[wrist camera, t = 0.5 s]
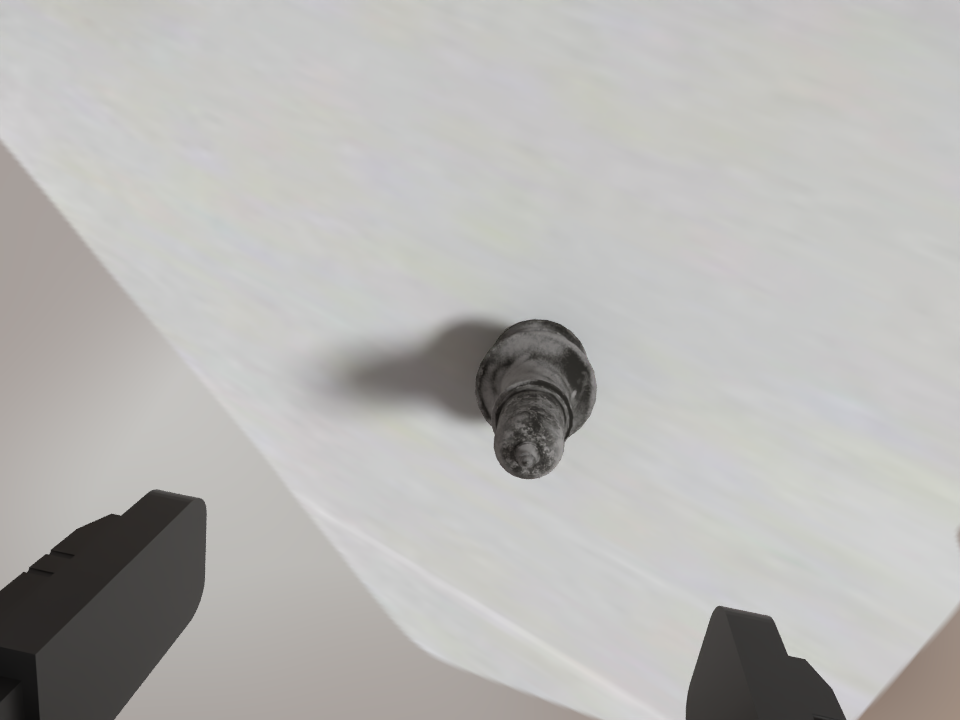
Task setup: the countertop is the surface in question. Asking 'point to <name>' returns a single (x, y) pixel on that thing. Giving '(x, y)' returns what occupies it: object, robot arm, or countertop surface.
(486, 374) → the salt shaker
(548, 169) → the countertop surface
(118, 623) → the robot arm
